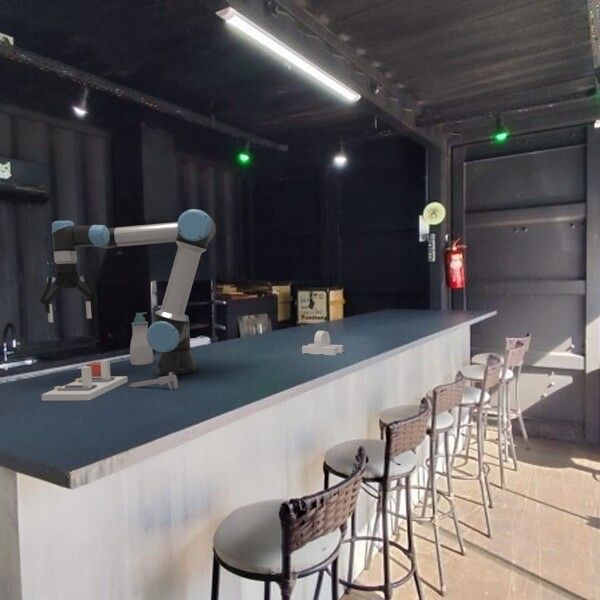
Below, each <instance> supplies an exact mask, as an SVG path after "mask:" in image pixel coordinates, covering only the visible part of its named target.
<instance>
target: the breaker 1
mask: <svg viewBox="0 0 600 600" xmlns="http://www.w3.org/2000/svg"><path fill="white" fill-rule="evenodd" d="M81 377H82V388H92V372H91V366H89V367H86V366H83V367H81Z"/></svg>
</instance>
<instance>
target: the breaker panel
mask: <svg viewBox="0 0 600 600" xmlns="http://www.w3.org/2000/svg"><path fill="white" fill-rule="evenodd" d="M110 377H111V379H110V380H102V379H101V377H92V388H82V376H81V377H79V378H75V381H72V382H70V383H67V384H65V385H62V386H61V385H57V386H54V387H53V388H54V389H52V390H49V391H47V392H44V393H42V394H41V401H42V402H44V401H50V402H51V401H61V402H62V401H64V402H65V401H68V402H69V401H70V402H71V401H74V402H75V401H78V402H79V401H90V400H93V399H94V398H97V397H100V396H101V395H103V394H105V393H107V392H110V391H112V390H113V389H116V388H118V387H120V386H123V385H124V384H125V383H128V382H129V381H128V380H129V379H128V376H110Z"/></svg>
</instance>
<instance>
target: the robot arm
mask: <svg viewBox="0 0 600 600" xmlns="http://www.w3.org/2000/svg"><path fill="white" fill-rule="evenodd" d="M216 225H217V224H216V223H215V220H214V219H213V218H212V217H211V216H210V215H209V214H208V213H206V212H205V211H203V210H201V209H197V208H196V209H195V208H193V209H188V210H186V211H184V212H183V213H181V214H180V216H179V218H178V220H177V222H166V223H165V222H164V223H155V224H143V225H142V224H141V225H134V226H133V225H132V226H131V225H130V226H122V227H121V226H120V227H111V228H110V227H109V228H108V227H107V226H106V225H104V224H91V225H79V226H77V225H75V223H74V221H72V220H56V221H53V222H52V223H51V237H52V246H53V256H54V257H53V259H54V263H55V265H54V273H55V277H51V276H47V277H46V279H45V284H44V287H43V290H42V292H41V294H40V296H39V298H38V301H37V303H39V304H43V305H44V306H43V307H44V313H45V314H47V316H48V317H47V319H48V323H54V312H53V304H50V303H51V302H52V301H53V299H54V298H55V296H56V295H58V293H59V292H60V290H62V289H76V290H77V291H78V292H79V293H80V294H81V295H82V296H83V298H85V300H86V301H85V307H86V309H85V311H86V319H92V317H93V316H92V310H94V300H98V295H97V294H96V291H95V290H94V288H93V287H92V285H91V284H90V282H89V278H88V276H87V275H81V276H79V271H78V269H79V268H78V263H77V262H78V257H77V247H78V248H79V247H96V248H102V249H114V248H117V247H129V246H141V245H142V246H143V245H151V244H153V245H154V244H163V243H174V242H175V244H176V245H177V251H176V253H175V258H174V261H173V265H172V268H171V272H170V275H169V279H168V283H167V286H166V290H165V293H164V297H163V300H162V305H161V307H160V309H159V310H157V311H155V314H154V318H153V321H152V324H151V325H150V326H148V331H147V335H146V338H147V342H148V344H149V345H150V347H151V348H152V350H154V351H156V352H158V353H160V355H159V359H158V364H157V365H156V366H157V368H156V373H157V374H158V375H164V376H169V373H170V372H171V373H172V372H174V375H176V376H177V375H183V374H189V373H193V372H195V371H196V370H197V369H196V362H195V360H194V357H193V354H192V352H191V336H190V335H191V334H190V319H189V316H188V315H187V314H185V312H186V308H187V305H188V301H189V298H190V294H191V291H192V286H193V283H194V280H195V276H196V273H197V269H198V266H199V263H200V258H201V255H202V253H204V252H207V249H208V246H209V242H210V241H211V240H213V238H214V237H215V236H216V231H217V226H216ZM79 281H80V282H82V284H83V285H84V287H85V289H86V290H87V291H86V290H85V289H84V288H83V287H82V286H81V285H80V283H79ZM54 282H55V283H56V285H55V287H54V289H53V290H52V291H51V293H50V294H49V291H50V289H51V287H52V284H53V283H54ZM48 294H49V295H48ZM47 295H48V296H47Z"/></svg>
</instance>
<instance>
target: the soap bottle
mask: <svg viewBox="0 0 600 600" xmlns="http://www.w3.org/2000/svg"><path fill="white" fill-rule="evenodd" d="M146 314H147V315H148V312H135V317H133V318H134V320H133V322H131V323H130V324H131V325H132V327H131V328H132V333H131V334H132V335H131V339H130V345H129V346H130V347H129V360H130V364H131V365H132V366H147V364H148V365H151V364H153V363H154V352H153V350H154V349H152V348H151V347H150V345H149V344H148V342H147V338H146V335H147V331H148V329H149V326H148V325H149V322H148V321H146V317H144V315H146Z"/></svg>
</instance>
